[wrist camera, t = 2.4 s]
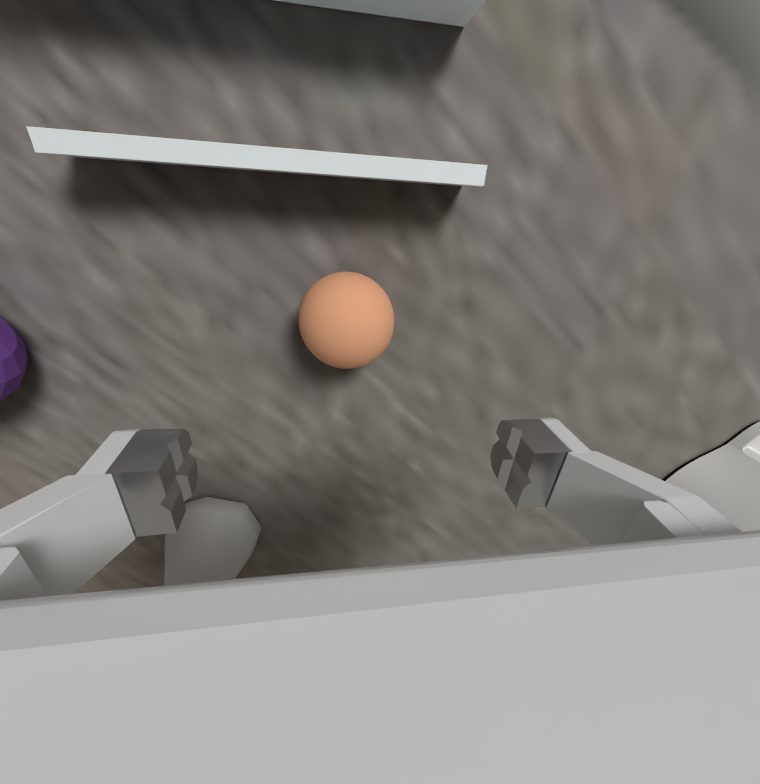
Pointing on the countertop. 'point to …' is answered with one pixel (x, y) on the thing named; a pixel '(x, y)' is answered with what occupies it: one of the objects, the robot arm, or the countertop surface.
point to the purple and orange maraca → (11, 359)
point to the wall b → (407, 8)
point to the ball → (346, 320)
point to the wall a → (252, 157)
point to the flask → (210, 542)
